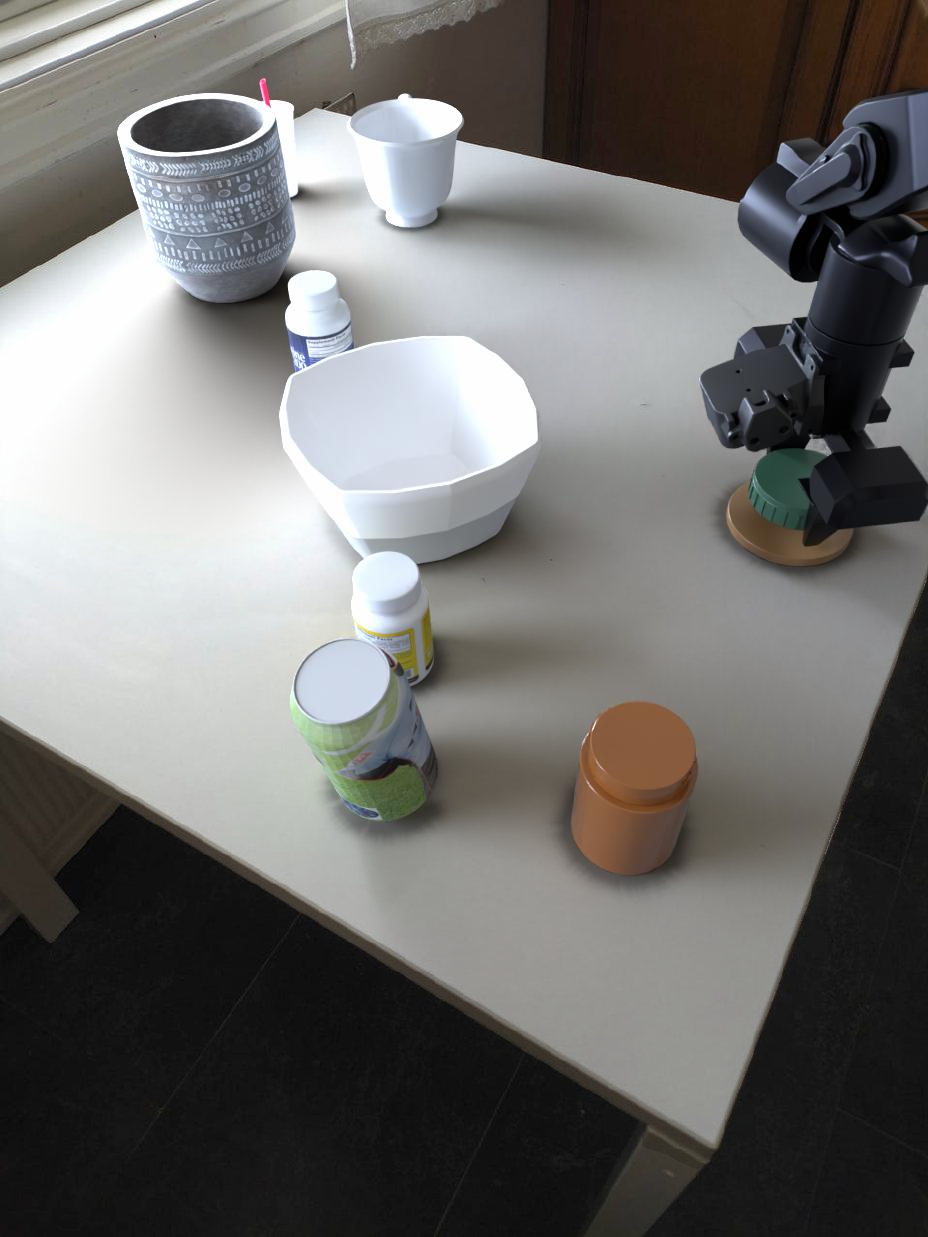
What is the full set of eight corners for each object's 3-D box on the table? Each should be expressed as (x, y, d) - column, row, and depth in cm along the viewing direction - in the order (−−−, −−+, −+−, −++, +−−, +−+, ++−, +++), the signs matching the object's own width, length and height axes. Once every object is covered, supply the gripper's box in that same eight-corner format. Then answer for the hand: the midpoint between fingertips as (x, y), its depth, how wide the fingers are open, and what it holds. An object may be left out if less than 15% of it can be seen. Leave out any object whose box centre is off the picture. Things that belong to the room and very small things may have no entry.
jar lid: (739, 517, 64) (745, 496, 63) (757, 460, 68) (763, 438, 67) (838, 541, 62) (846, 520, 61) (850, 481, 66) (858, 459, 65)
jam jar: (688, 799, 52) (716, 715, 46) (662, 891, 49) (688, 814, 42) (588, 766, 54) (602, 680, 47) (556, 853, 50) (566, 772, 44)
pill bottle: (294, 372, 81) (275, 270, 74) (353, 363, 82) (339, 261, 75) (302, 407, 78) (283, 304, 70) (364, 397, 79) (350, 293, 71)
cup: (267, 206, 103) (246, 91, 94) (254, 187, 106) (232, 74, 97) (312, 196, 104) (295, 82, 95) (298, 178, 107) (280, 66, 98)
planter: (223, 332, 86) (182, 171, 74) (134, 283, 92) (84, 128, 81) (331, 272, 93) (309, 116, 81) (241, 231, 99) (209, 81, 88)
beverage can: (460, 777, 54) (453, 651, 44) (373, 866, 50) (347, 749, 41) (384, 720, 56) (363, 591, 47) (297, 801, 53) (256, 678, 44)
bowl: (483, 416, 76) (482, 315, 69) (571, 555, 65) (580, 452, 58) (277, 467, 73) (254, 366, 65) (334, 623, 62) (313, 522, 55)
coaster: (857, 499, 69) (861, 491, 68) (842, 580, 63) (845, 572, 63) (738, 472, 71) (741, 464, 70) (714, 547, 66) (716, 539, 65)
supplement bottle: (401, 623, 62) (390, 534, 55) (449, 661, 59) (444, 573, 53) (347, 662, 59) (329, 575, 53) (394, 704, 57) (382, 617, 51)
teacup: (461, 178, 106) (459, 85, 99) (468, 239, 97) (467, 140, 89) (359, 183, 106) (349, 90, 99) (356, 244, 96) (344, 146, 89)
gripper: (682, 255, 60) (650, 443, 72) (784, 427, 48) (725, 619, 60) (843, 241, 61) (786, 429, 72) (984, 407, 48) (887, 600, 60)
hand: (791, 511), depth 66 cm, fingers closed on jar lid, 6 cm apart
